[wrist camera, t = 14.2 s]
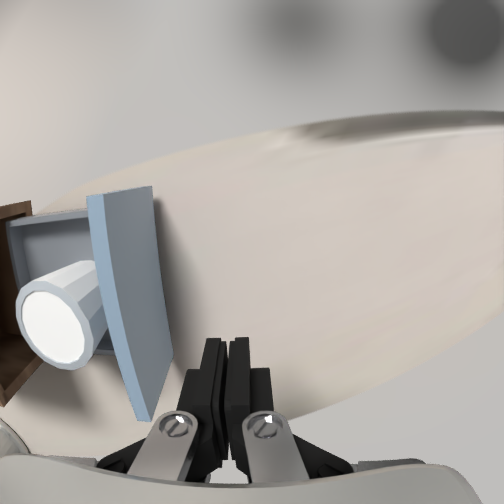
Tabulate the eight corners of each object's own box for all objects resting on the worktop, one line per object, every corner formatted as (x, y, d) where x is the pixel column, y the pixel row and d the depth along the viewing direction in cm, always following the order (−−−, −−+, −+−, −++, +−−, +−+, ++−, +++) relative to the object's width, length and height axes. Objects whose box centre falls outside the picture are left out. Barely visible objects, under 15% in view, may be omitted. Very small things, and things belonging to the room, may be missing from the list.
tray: (49, 346, 26) (6, 393, 17) (18, 204, 22) (-47, 221, 13) (173, 354, 26) (151, 422, 17) (152, 185, 22) (102, 194, 14)
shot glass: (139, 279, 23) (105, 318, 17) (112, 340, 25) (81, 387, 18) (72, 237, 22) (22, 261, 15) (52, 301, 24) (10, 336, 17)
